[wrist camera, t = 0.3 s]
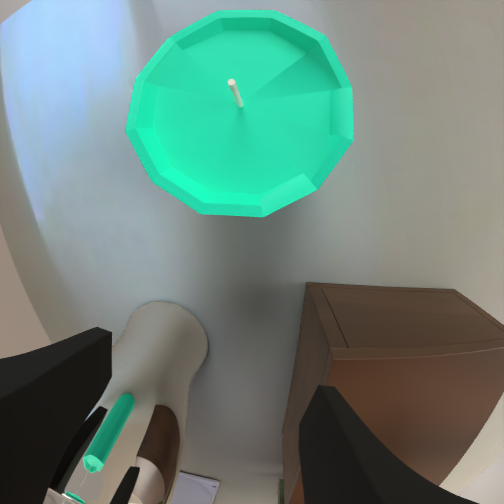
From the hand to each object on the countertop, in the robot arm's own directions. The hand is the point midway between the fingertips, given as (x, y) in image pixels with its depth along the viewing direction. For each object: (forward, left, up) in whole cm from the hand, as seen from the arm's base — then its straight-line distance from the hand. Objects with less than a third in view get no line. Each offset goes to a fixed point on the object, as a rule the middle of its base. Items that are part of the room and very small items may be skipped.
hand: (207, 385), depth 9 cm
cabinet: (-4, -11, -10) cm, 16 cm away
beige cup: (-5, +4, -10) cm, 12 cm away
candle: (+9, +1, -10) cm, 13 cm away
